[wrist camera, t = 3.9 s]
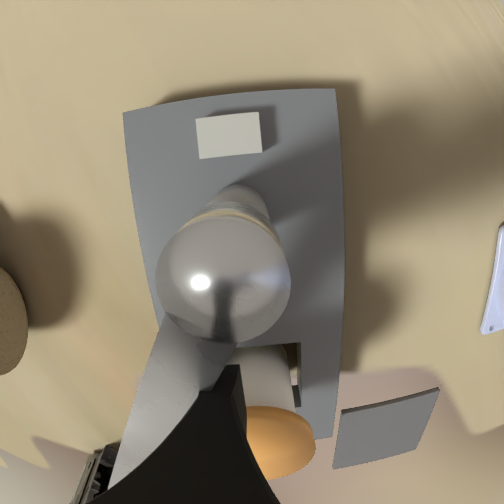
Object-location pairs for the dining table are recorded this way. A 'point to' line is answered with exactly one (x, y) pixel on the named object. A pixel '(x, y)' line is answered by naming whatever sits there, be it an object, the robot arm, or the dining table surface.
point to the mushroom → (272, 411)
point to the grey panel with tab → (256, 207)
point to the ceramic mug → (11, 324)
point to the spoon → (204, 316)
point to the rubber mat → (382, 428)
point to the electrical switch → (95, 476)
